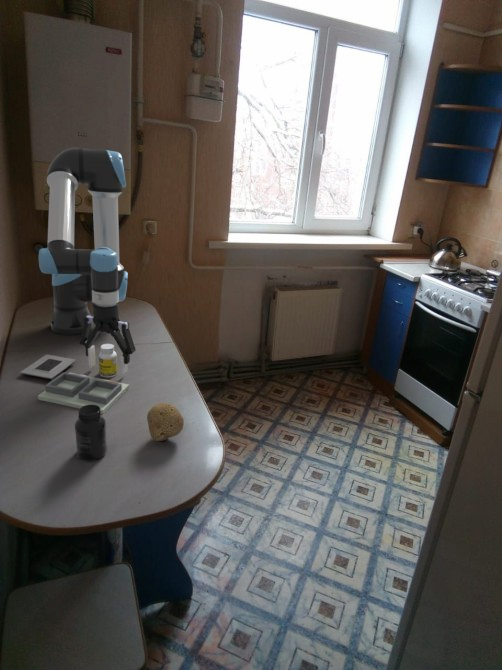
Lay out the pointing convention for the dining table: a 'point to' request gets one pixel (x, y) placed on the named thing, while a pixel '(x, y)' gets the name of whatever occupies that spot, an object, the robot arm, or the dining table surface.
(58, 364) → the electrical outlet
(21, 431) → the dining table surface
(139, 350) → the dining table surface
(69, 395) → the tag board
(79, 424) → the supplement bottle
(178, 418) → the natural sponge
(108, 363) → the supplement bottle
